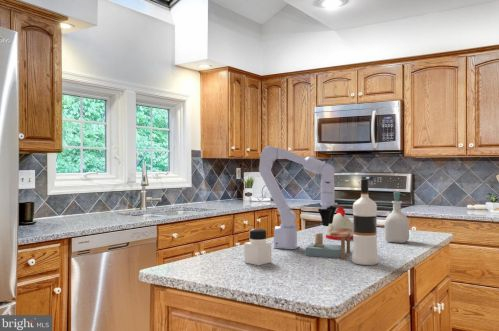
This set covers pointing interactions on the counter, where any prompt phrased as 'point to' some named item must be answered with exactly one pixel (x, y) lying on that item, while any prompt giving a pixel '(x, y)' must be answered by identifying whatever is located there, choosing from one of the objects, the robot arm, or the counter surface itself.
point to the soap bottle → (396, 223)
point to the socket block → (324, 250)
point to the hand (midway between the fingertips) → (327, 224)
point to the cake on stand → (340, 224)
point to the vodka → (365, 229)
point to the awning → (343, 239)
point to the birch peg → (318, 239)
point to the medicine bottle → (257, 248)
